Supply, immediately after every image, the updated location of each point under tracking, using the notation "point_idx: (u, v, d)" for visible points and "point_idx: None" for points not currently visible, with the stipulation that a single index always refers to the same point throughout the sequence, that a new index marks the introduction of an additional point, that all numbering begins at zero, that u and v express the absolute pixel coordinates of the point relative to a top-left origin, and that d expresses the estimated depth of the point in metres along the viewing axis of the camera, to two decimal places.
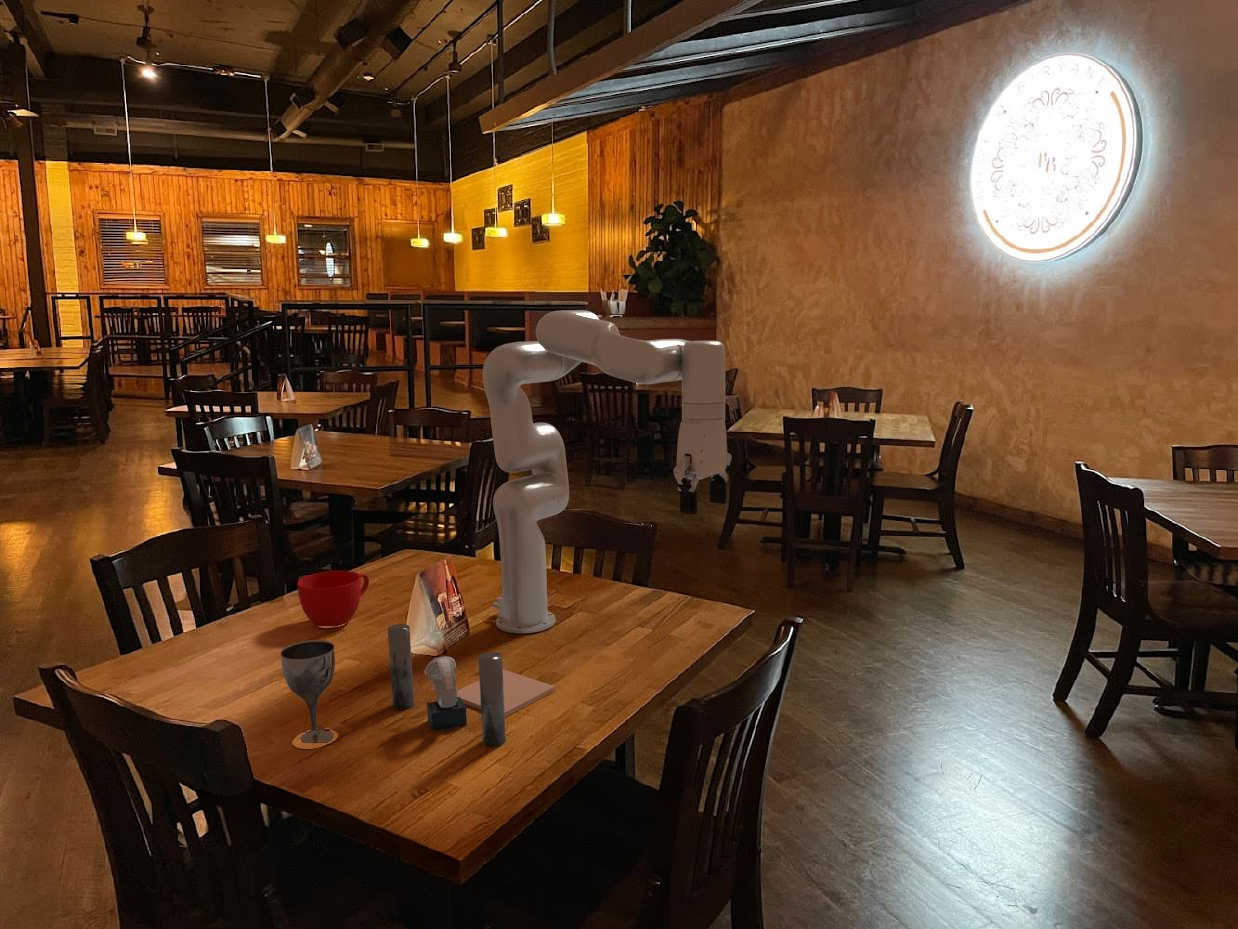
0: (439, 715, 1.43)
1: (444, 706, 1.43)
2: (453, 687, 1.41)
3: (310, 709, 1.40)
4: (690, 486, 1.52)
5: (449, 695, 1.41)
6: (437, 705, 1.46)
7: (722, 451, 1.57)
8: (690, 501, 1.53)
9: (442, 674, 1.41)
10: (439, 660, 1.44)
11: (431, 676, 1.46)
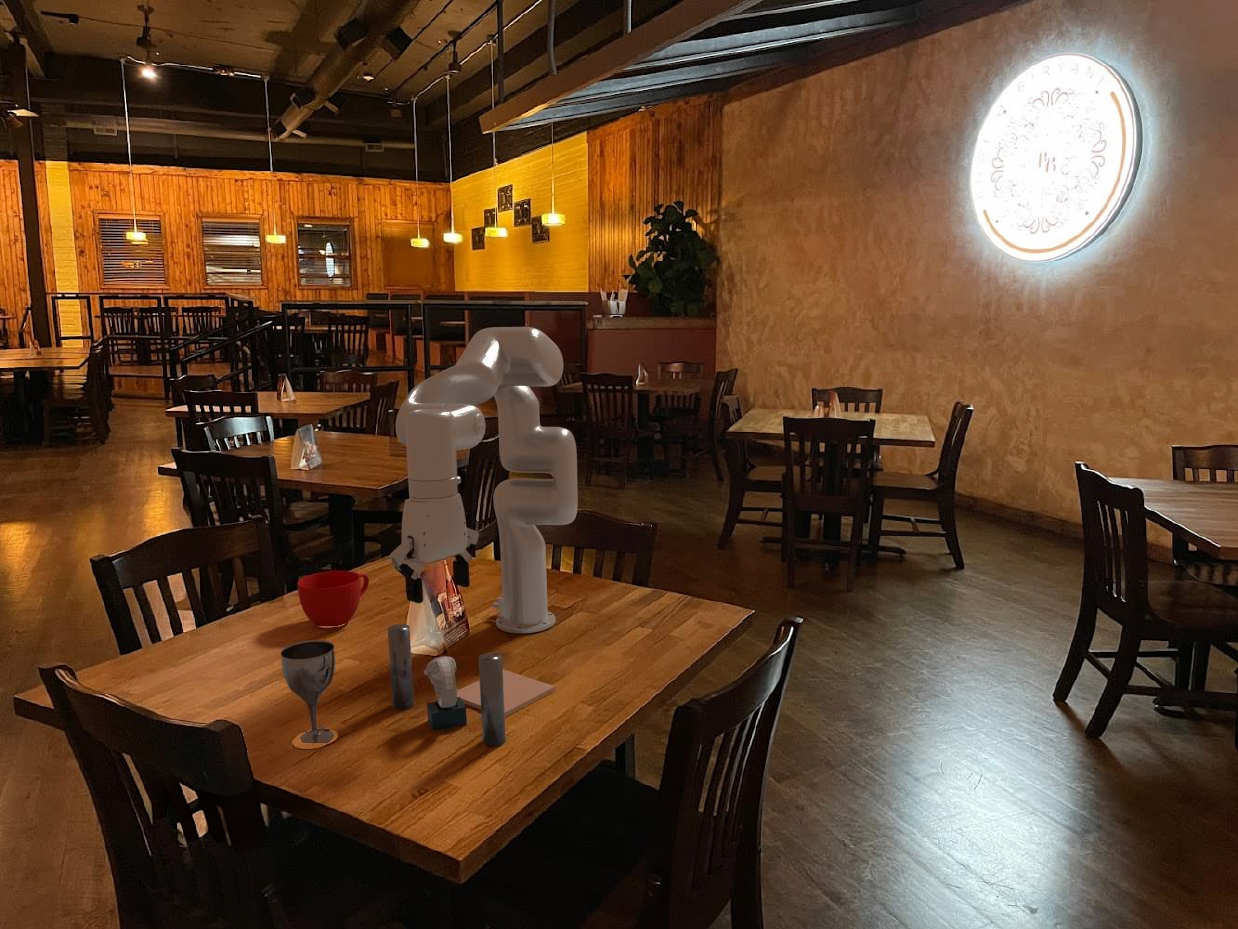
0: (439, 715, 1.43)
1: (444, 706, 1.43)
2: (453, 687, 1.41)
3: (310, 709, 1.40)
4: (412, 572, 1.36)
5: (449, 695, 1.41)
6: (437, 705, 1.46)
7: (457, 531, 1.41)
8: (414, 589, 1.37)
9: (442, 674, 1.41)
10: (439, 660, 1.44)
11: (431, 676, 1.46)
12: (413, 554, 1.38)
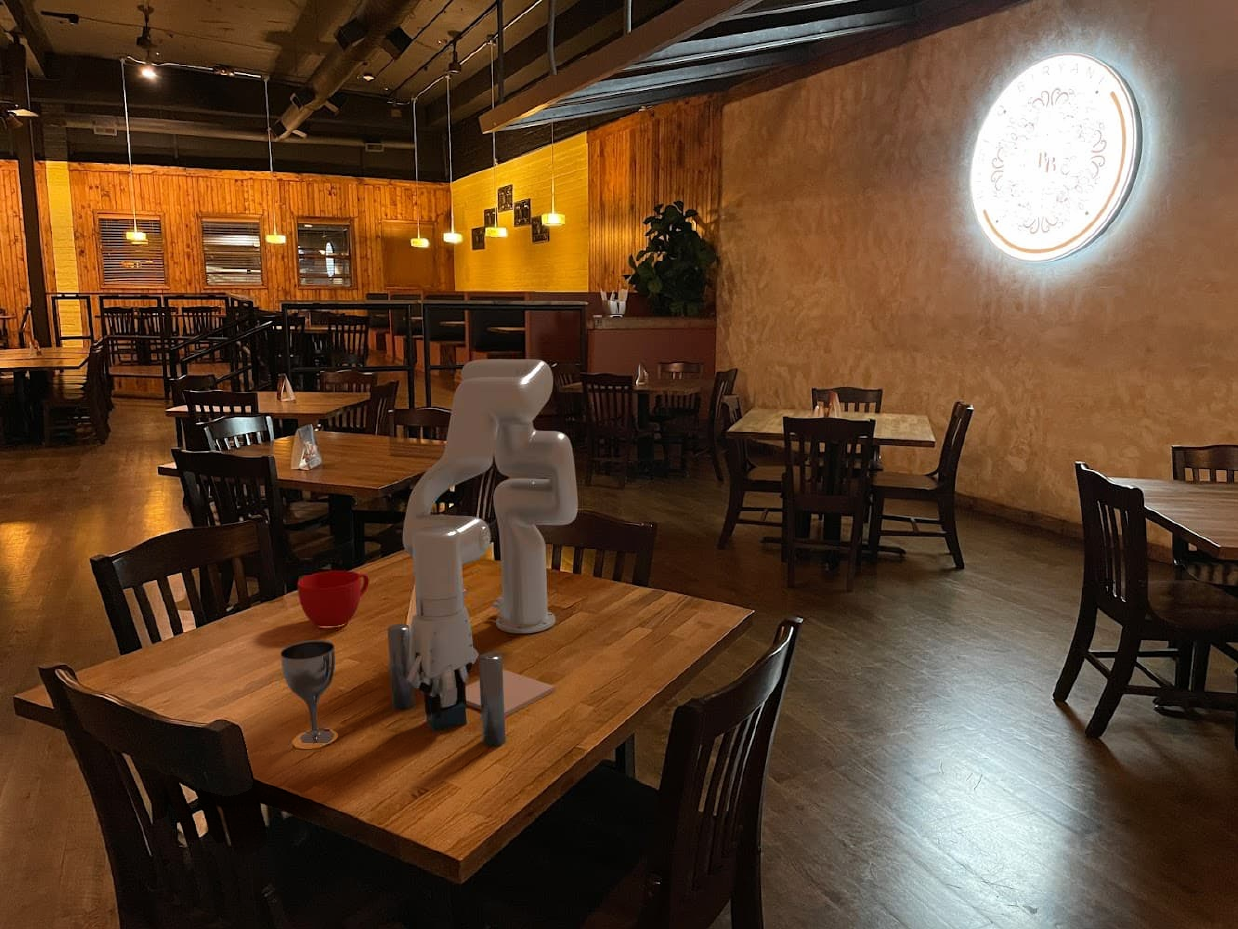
0: None
1: (444, 706, 1.43)
2: (453, 686, 1.41)
3: (310, 709, 1.40)
4: (430, 692, 1.41)
5: (449, 695, 1.42)
6: None
7: (464, 643, 1.44)
8: (432, 705, 1.42)
9: (442, 674, 1.41)
10: None
11: None
12: None
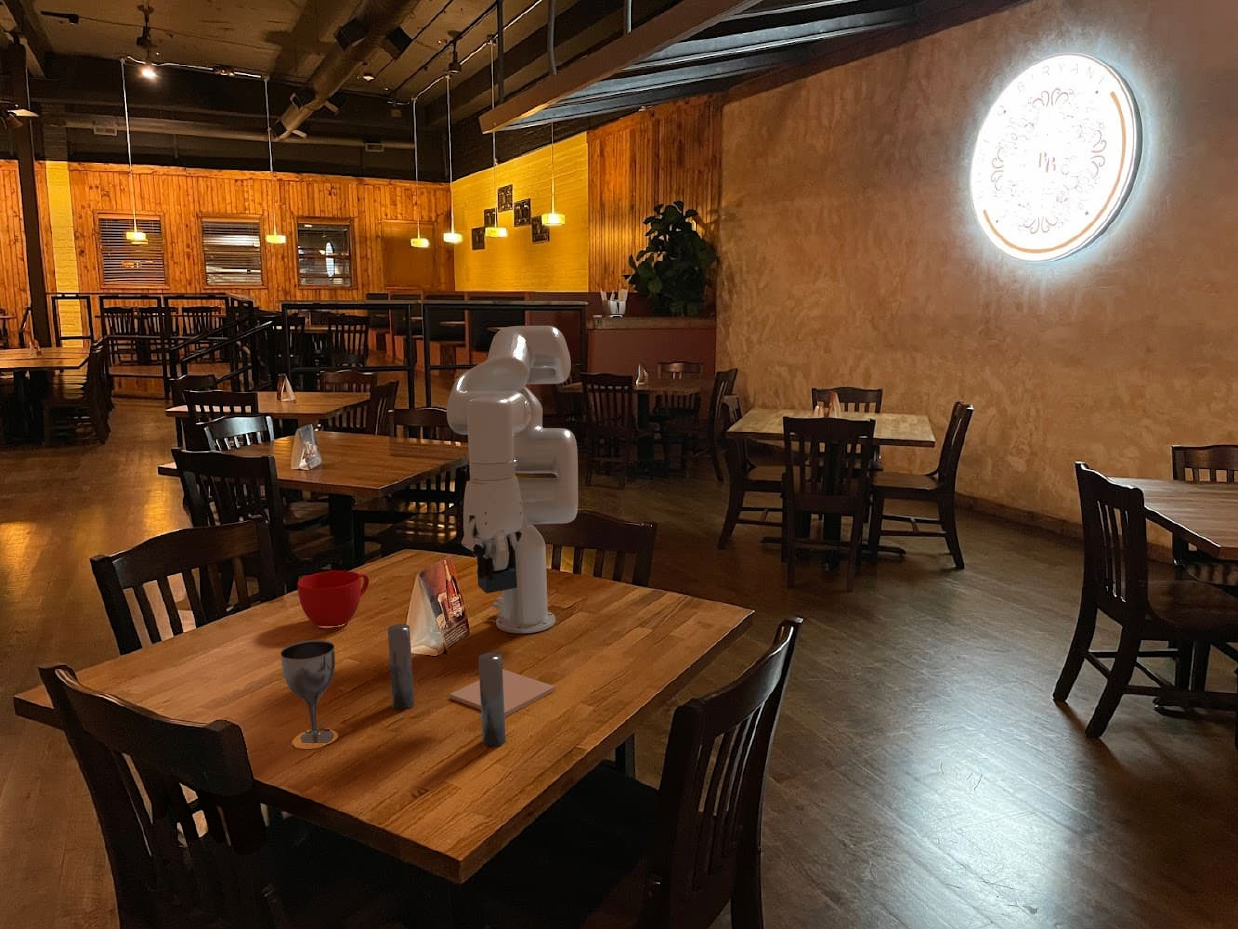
0: None
1: (496, 568, 1.49)
2: (505, 549, 1.48)
3: (310, 709, 1.40)
4: (483, 554, 1.48)
5: (502, 557, 1.48)
6: None
7: (514, 510, 1.51)
8: (485, 567, 1.49)
9: (495, 537, 1.48)
10: None
11: None
12: None
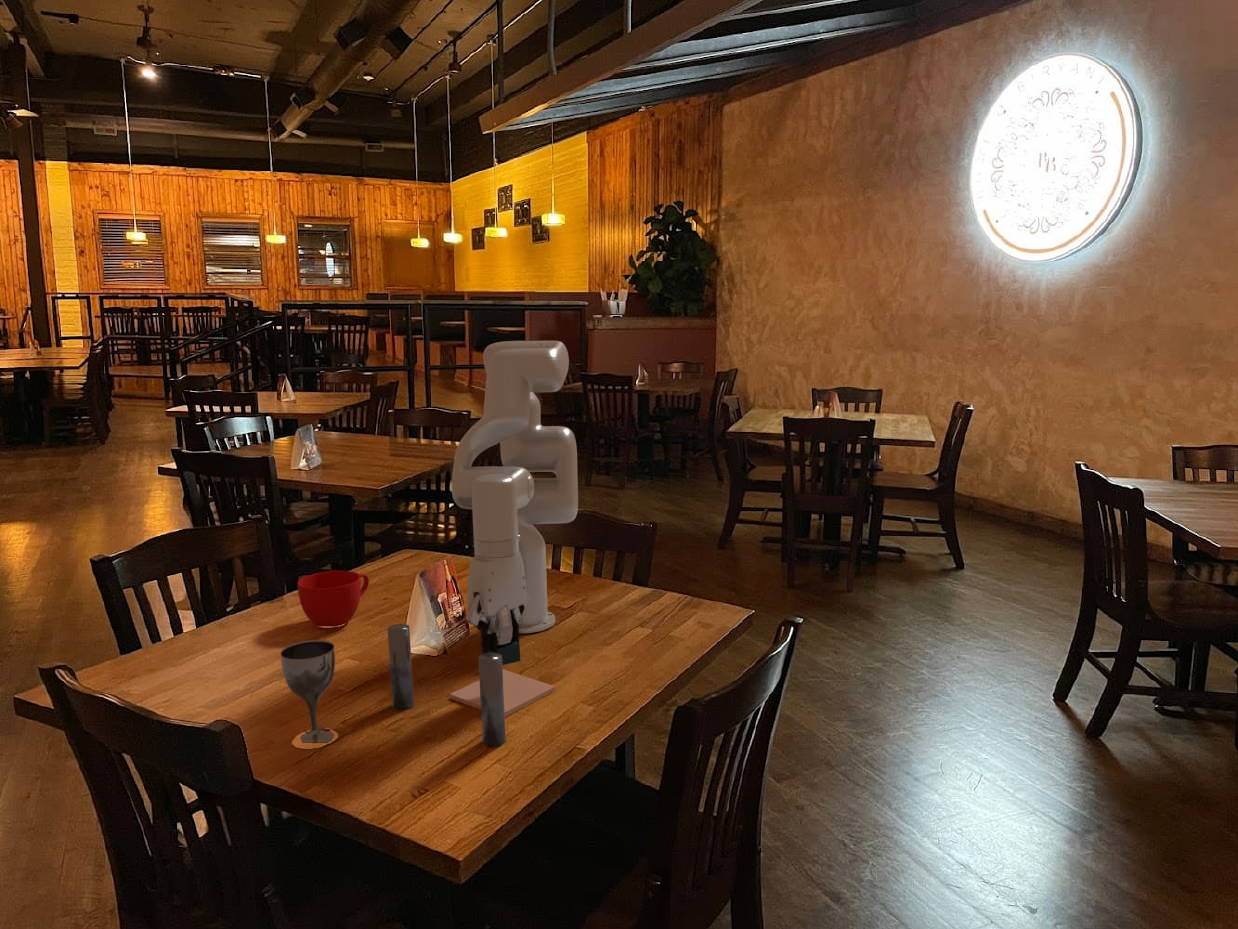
0: None
1: (500, 643, 1.52)
2: (509, 624, 1.50)
3: (310, 709, 1.40)
4: (487, 629, 1.50)
5: (506, 632, 1.50)
6: None
7: (518, 585, 1.53)
8: (489, 642, 1.51)
9: (499, 612, 1.50)
10: None
11: None
12: None
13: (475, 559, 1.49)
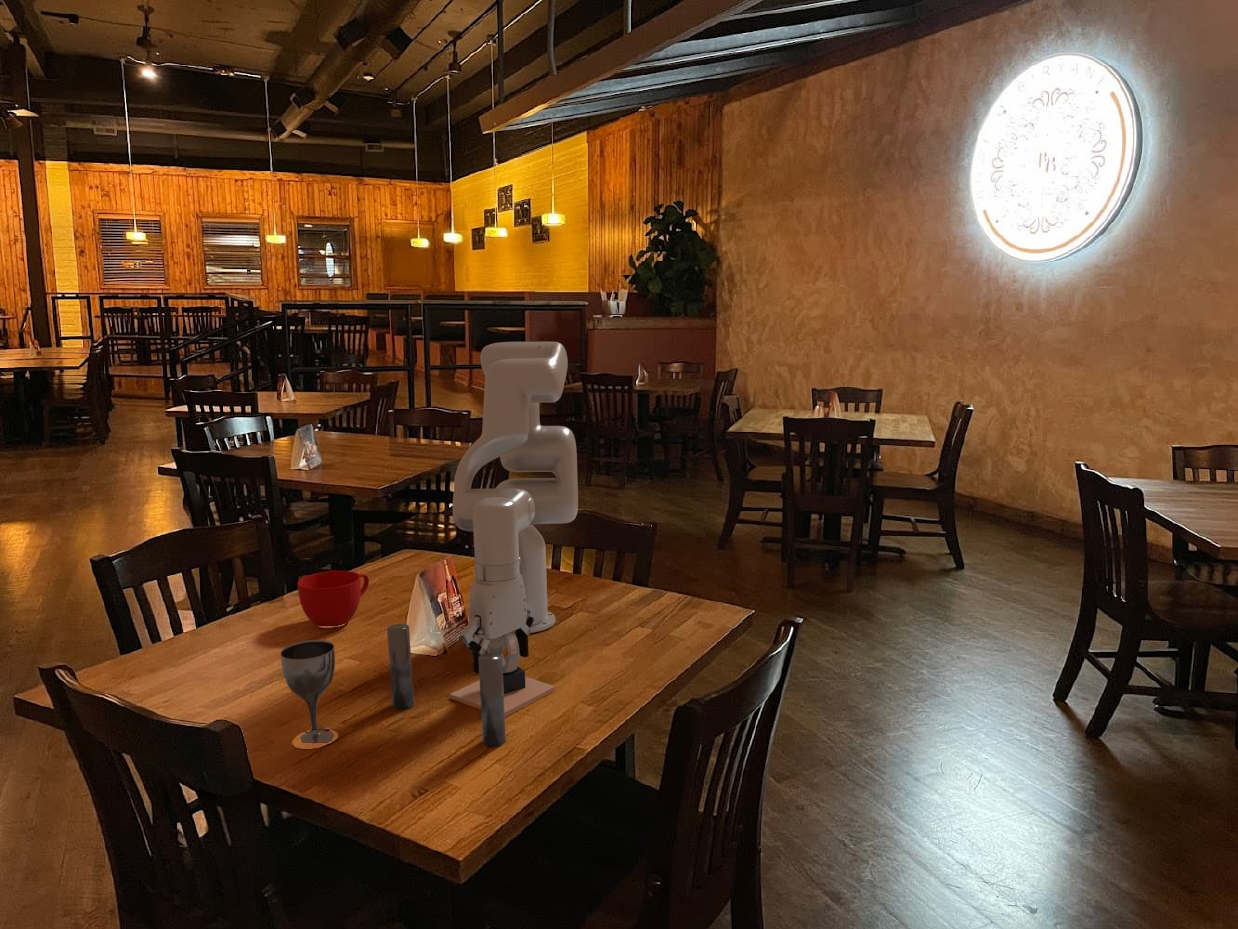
0: None
1: (507, 671, 1.54)
2: (517, 652, 1.53)
3: (310, 709, 1.40)
4: (479, 648, 1.49)
5: (513, 660, 1.53)
6: None
7: (519, 608, 1.54)
8: None
9: (507, 641, 1.52)
10: None
11: (489, 645, 1.56)
12: (479, 630, 1.51)
13: (476, 582, 1.50)
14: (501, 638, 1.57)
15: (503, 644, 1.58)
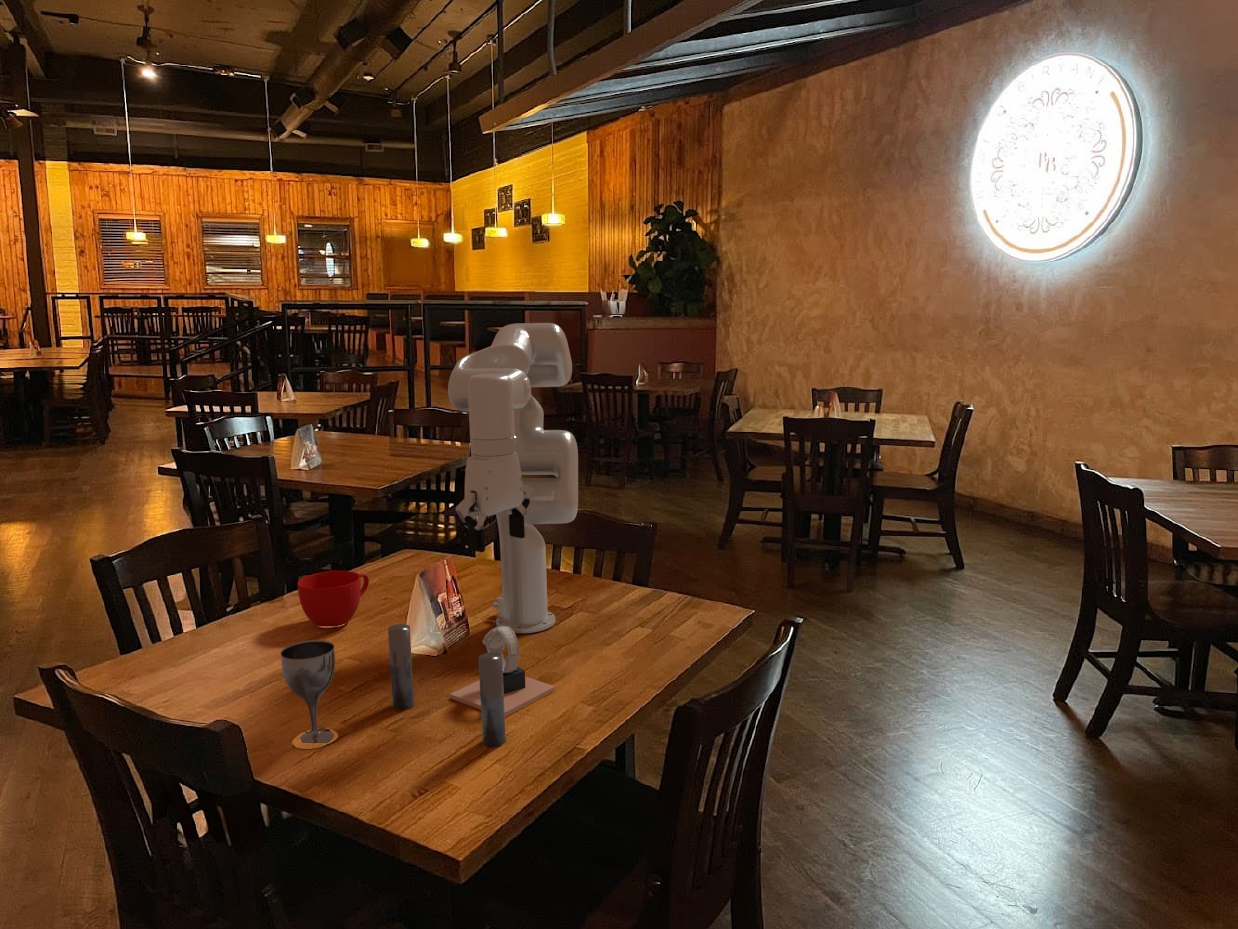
0: None
1: (507, 671, 1.54)
2: (517, 652, 1.53)
3: (310, 709, 1.40)
4: (475, 524, 1.48)
5: (513, 660, 1.53)
6: None
7: (515, 486, 1.53)
8: (477, 539, 1.49)
9: (507, 641, 1.52)
10: (499, 629, 1.55)
11: (489, 645, 1.56)
12: (475, 507, 1.50)
13: (472, 458, 1.49)
14: (501, 638, 1.57)
15: (503, 644, 1.58)
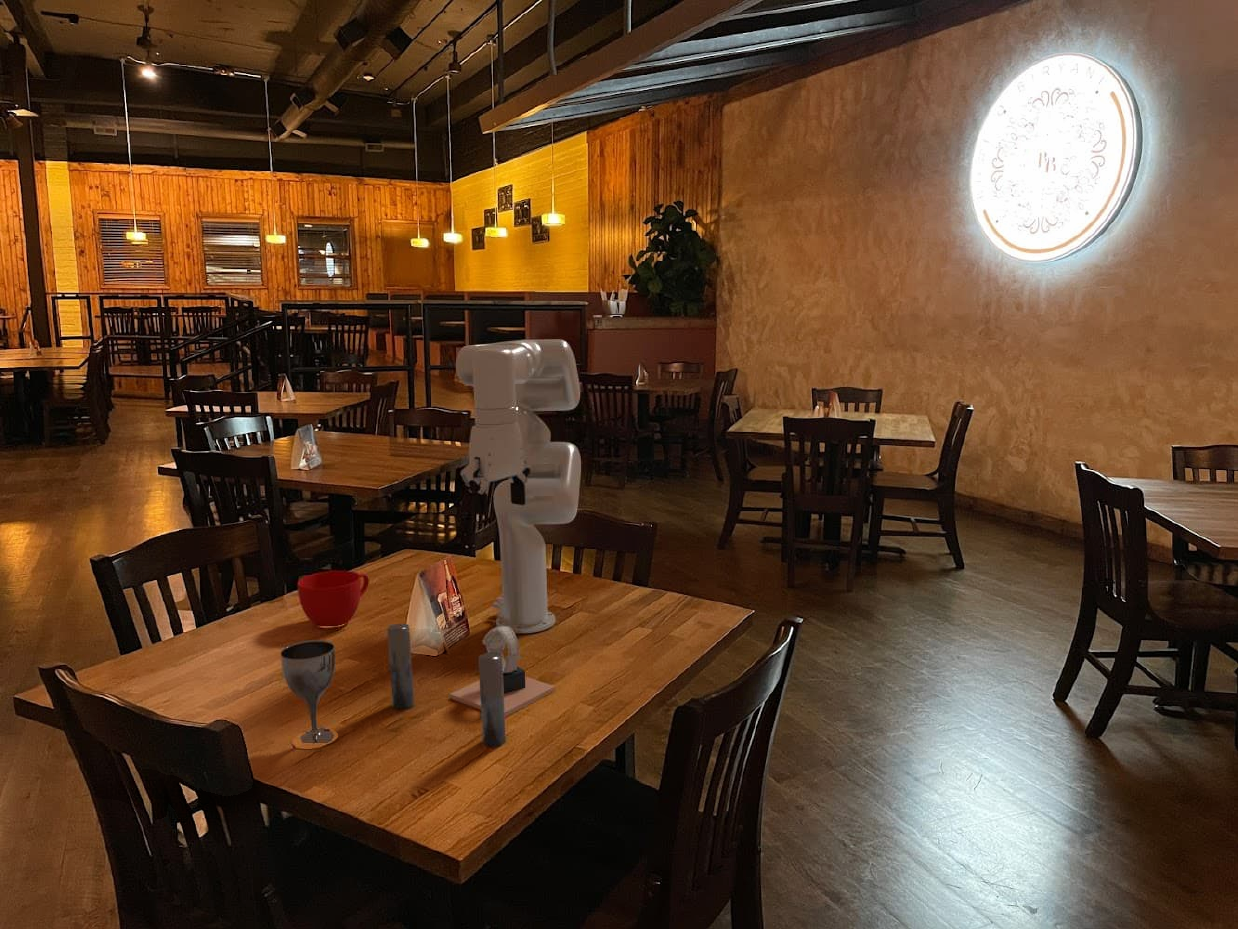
0: None
1: (507, 671, 1.54)
2: (517, 652, 1.53)
3: (310, 709, 1.40)
4: (479, 488, 1.58)
5: (513, 660, 1.53)
6: None
7: (516, 454, 1.63)
8: (480, 502, 1.59)
9: (507, 641, 1.52)
10: (499, 629, 1.55)
11: (489, 645, 1.56)
12: (479, 473, 1.60)
13: (476, 427, 1.59)
14: (501, 638, 1.57)
15: (503, 644, 1.58)
